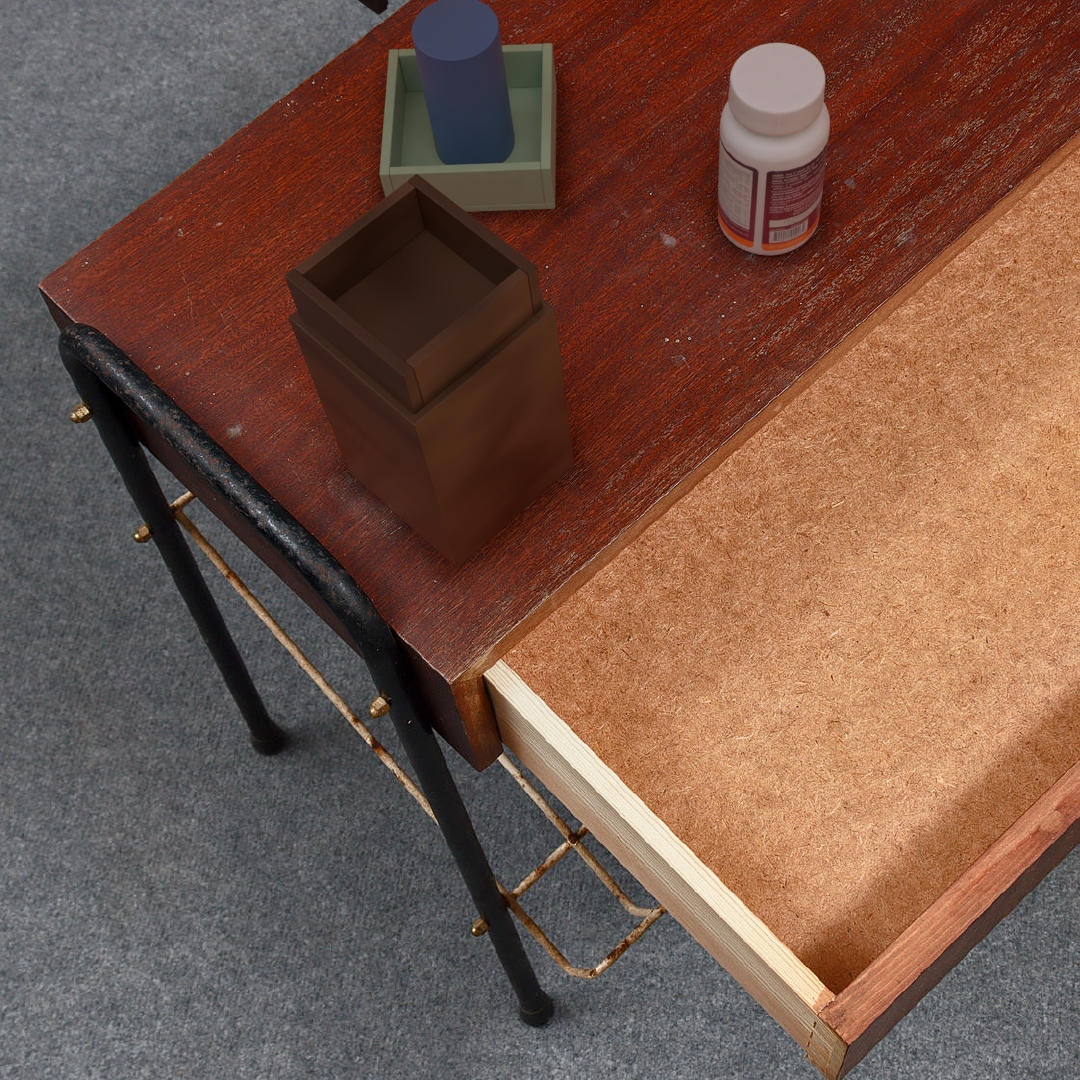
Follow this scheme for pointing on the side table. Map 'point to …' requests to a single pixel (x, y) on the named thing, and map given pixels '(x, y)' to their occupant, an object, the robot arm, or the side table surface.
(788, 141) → the pill bottle
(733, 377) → the side table surface
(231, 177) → the side table surface
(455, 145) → the vial
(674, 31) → the side table surface
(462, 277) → the stand
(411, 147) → the bin
